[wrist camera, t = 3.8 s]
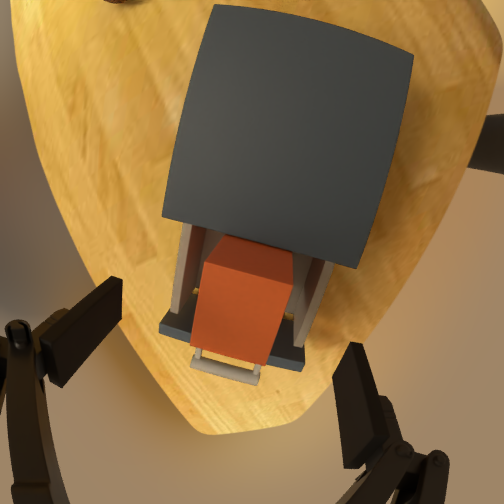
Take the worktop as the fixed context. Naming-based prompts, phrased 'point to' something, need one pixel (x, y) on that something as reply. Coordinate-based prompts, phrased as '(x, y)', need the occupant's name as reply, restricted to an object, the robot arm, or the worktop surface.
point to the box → (242, 299)
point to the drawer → (290, 332)
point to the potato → (115, 1)
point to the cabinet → (287, 132)
